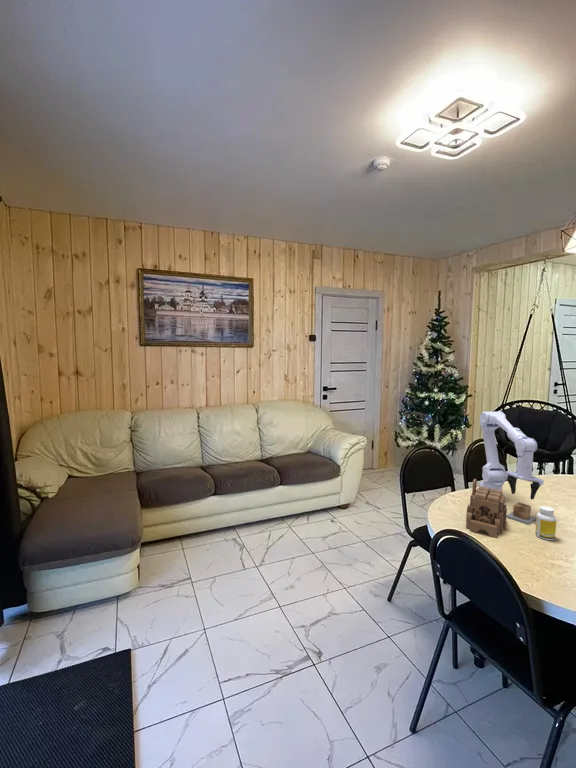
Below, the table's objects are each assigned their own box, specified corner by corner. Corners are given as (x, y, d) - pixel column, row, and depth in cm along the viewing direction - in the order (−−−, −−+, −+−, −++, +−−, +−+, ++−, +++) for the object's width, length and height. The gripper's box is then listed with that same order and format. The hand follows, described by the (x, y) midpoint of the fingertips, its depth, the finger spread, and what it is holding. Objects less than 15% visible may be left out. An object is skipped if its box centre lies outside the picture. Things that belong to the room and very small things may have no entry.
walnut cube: (513, 515, 167) (513, 504, 167) (517, 513, 170) (518, 502, 170) (525, 519, 163) (526, 508, 163) (530, 516, 166) (530, 505, 166)
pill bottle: (558, 541, 146) (560, 512, 145) (539, 539, 147) (541, 511, 146) (550, 534, 152) (552, 505, 151) (532, 532, 153) (534, 504, 152)
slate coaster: (505, 517, 167) (505, 515, 167) (514, 512, 173) (514, 510, 173) (528, 524, 160) (528, 522, 160) (536, 519, 165) (536, 517, 165)
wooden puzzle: (502, 539, 147) (505, 493, 146) (461, 529, 155) (464, 485, 154) (508, 519, 165) (510, 478, 163) (471, 511, 173) (473, 471, 172)
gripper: (503, 463, 169) (501, 492, 170) (539, 471, 157) (537, 503, 158) (510, 460, 173) (508, 489, 174) (546, 468, 161) (544, 499, 162)
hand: (522, 496), depth 166 cm, fingers open, 7 cm apart
